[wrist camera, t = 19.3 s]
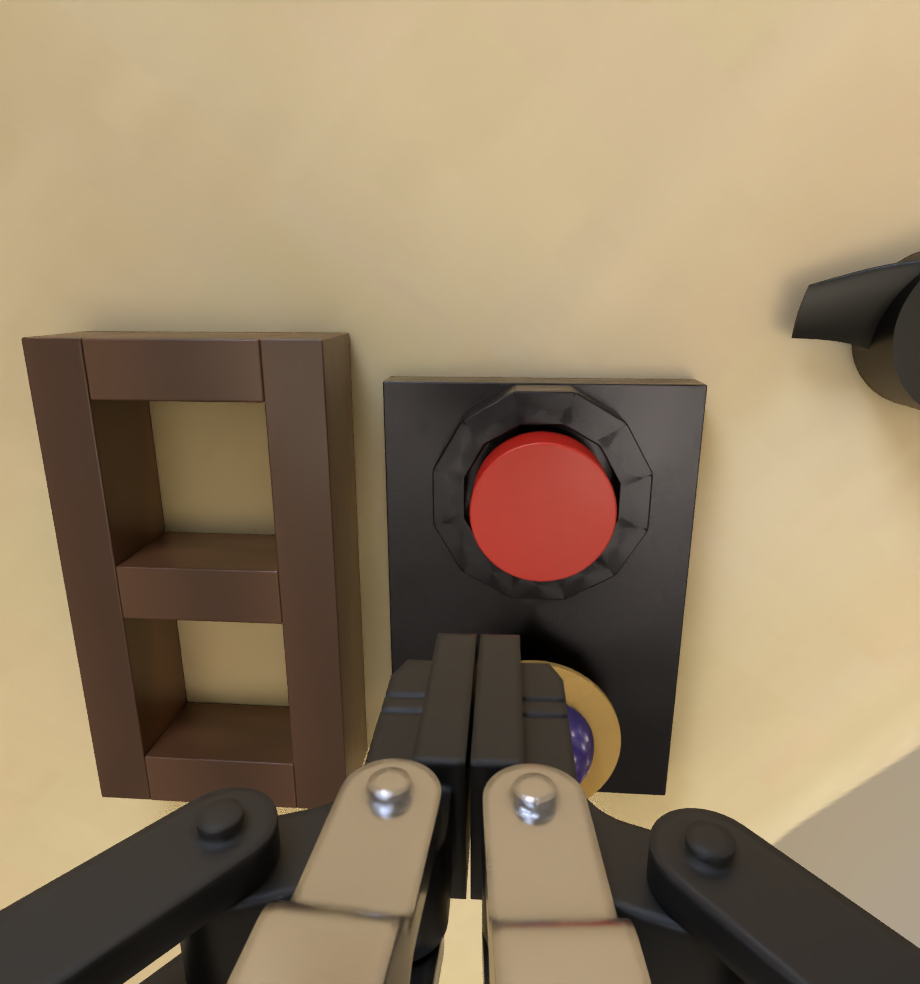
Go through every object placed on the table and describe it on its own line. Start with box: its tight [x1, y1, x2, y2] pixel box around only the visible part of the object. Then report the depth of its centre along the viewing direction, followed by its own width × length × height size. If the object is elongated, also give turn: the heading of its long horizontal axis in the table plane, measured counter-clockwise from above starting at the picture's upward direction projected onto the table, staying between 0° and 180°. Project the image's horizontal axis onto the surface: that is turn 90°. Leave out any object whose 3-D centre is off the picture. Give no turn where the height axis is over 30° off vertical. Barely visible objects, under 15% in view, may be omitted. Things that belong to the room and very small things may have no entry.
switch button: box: [469, 431, 617, 582], centre depth 24 cm, size 5×5×2 cm
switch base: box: [383, 376, 707, 795], centre depth 28 cm, size 18×12×4 cm, turn 0°
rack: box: [22, 331, 367, 809], centre depth 28 cm, size 11×19×4 cm, turn 0°
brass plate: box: [521, 660, 621, 799], centre depth 27 cm, size 7×7×1 cm
